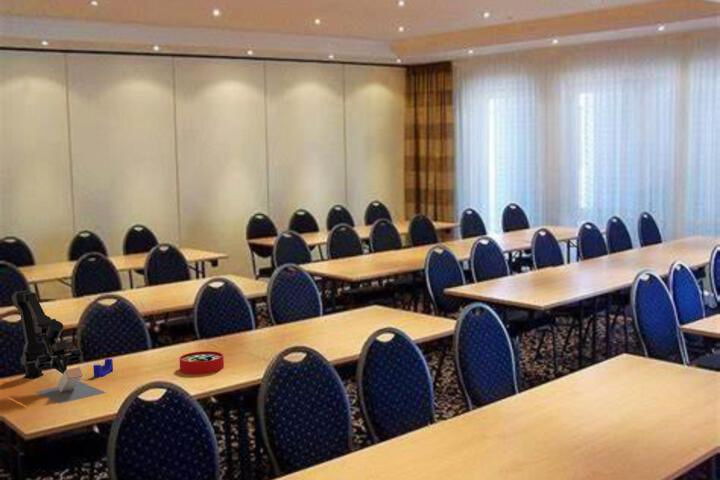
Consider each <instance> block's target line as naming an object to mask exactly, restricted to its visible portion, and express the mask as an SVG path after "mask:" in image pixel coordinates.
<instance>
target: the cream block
mask: <svg viewBox="0 0 720 480" xmlns="http://www.w3.org/2000/svg"><path fill="white" fill-rule="evenodd" d="M83 376H84V375H83V373H82V369H81V367H80V366H78V367H74V368H69V369H68V368H67V370H65V372H64V374H61V377H60V378H59V381H58V382H57V387H59V390H60V392H64V391H69V390H73V389H75V387H76V385H77V384H78V382H81V379H82V377H83Z"/></svg>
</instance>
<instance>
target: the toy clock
mask: <svg viewBox="0 0 720 480" xmlns="http://www.w3.org/2000/svg"><path fill="white" fill-rule="evenodd" d="M224 359H225V358H224V354H223V353H222V352H220V351H219V352H218V351H213V350H212V351H211V350H210V351H209V350H205V351H194V352H193V351H192V352H189V353H185V354H183V355H180V356H179V371H180V373H183V374H187V375H205V374H206V373H208V374H212V372H213V373H217V372H220V371H222V370H223V369H224V368H225V363H224V362H225V360H224ZM221 369H222V370H221ZM219 370H220V371H219Z"/></svg>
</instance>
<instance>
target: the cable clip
mask: <svg viewBox="0 0 720 480" xmlns="http://www.w3.org/2000/svg"><path fill="white" fill-rule="evenodd" d="M113 361H114V360H113V358H104V364H94V365H93V366H92V367H93V377H94V378H103V377H106V376H108V375H109V374H111V373H113V372H114V365H113V364H114V363H113Z"/></svg>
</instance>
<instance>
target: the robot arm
mask: <svg viewBox="0 0 720 480" xmlns="http://www.w3.org/2000/svg"><path fill="white" fill-rule="evenodd" d="M11 299H12V302H13V305H14V307H15V309H16V310H17V311H18V312H19V316H20V320H21V321H20V322H21V326H22V330H23V331H22V332H23V337H24V342H25V344H24V346H23V349H22V351H23V352H22V355H21V357H20V363H21V365H23V366H24V376H22V378H24V379H37V378H40V377H41V376H44V374H45V373H43V369H44V367H45V366H46V364H50V366H49V367H50V368H52V369H54V370H56V371H57V372H59V373H60V374H61V375H63V374H64V372H65V370H68V368H67V367H68V362H71V363H73V362H78V361H79V360H80V358H82V355H83V352H82V350H81V349H80V348H75V349H70V352H69V353H67V349H69V348H70V347H71V346H72V342H71V339H70V338H66V339H65V340H63V341H59V338H60V336H61V333H62V332H63V329H64V324H63V323H62V322H61V321H59V320H57V318H51V317H50V316H48V315H47V314H46V313H45V311H44V309H43V307H42V305H41V303H40V302H39V299H38V295H37V293H36V292H33V291H32V292H31V290H22V291H21V290H20V291H15V292H14V293H13V294H12V296H11ZM34 322H35V324H34ZM36 334H37V335H39V336H42V335H43V336H42V341H41V342H42V343H41V342H39V341H38V339H37V336H36ZM43 344H44V346H45V348H46V354H45V351H44V348H43ZM47 354H48V355H49V356H48V355H47Z"/></svg>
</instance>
